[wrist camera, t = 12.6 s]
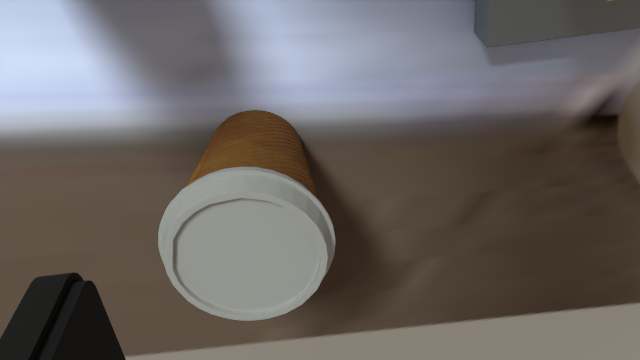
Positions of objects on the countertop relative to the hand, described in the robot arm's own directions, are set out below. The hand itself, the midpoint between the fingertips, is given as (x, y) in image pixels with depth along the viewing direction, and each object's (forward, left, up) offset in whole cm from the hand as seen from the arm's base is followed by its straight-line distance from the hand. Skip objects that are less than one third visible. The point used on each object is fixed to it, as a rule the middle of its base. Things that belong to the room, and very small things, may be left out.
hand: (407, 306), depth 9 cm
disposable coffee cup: (+13, -6, -31) cm, 34 cm away
